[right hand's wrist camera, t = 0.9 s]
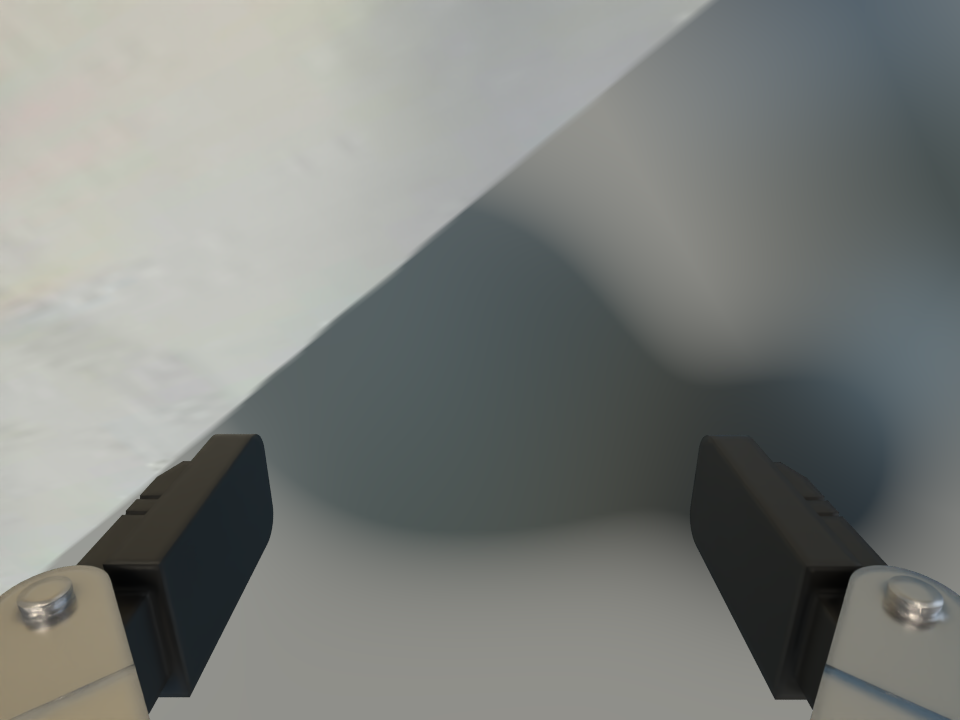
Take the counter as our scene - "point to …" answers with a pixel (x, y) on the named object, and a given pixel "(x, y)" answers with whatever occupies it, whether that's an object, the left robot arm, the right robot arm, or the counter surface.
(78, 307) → the counter surface
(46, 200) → the counter surface
